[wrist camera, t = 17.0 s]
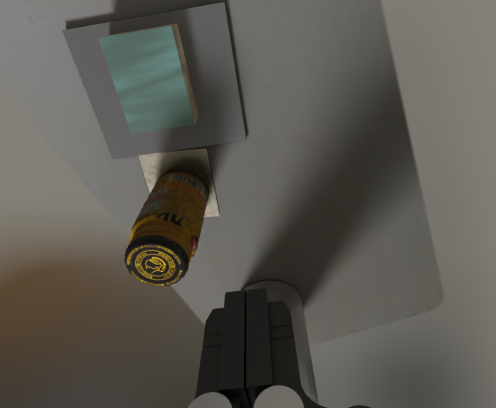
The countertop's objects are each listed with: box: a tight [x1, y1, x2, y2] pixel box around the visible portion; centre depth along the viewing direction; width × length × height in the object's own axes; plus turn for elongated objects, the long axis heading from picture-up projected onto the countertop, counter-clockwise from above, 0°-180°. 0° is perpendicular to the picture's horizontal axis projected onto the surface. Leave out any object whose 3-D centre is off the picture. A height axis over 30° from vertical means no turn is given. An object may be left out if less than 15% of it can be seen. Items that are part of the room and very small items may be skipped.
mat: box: [62, 2, 246, 159], centre depth 31 cm, size 12×14×1 cm
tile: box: [98, 24, 198, 134], centre depth 29 cm, size 2×6×8 cm
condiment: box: [125, 149, 219, 286], centre depth 32 cm, size 7×8×12 cm
